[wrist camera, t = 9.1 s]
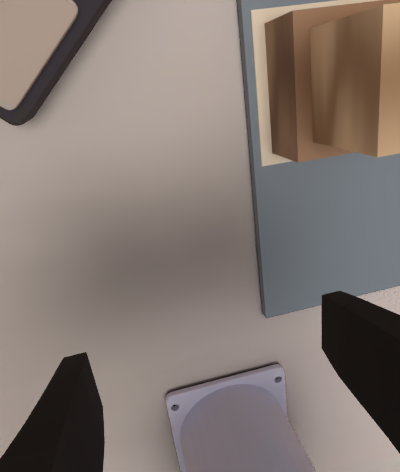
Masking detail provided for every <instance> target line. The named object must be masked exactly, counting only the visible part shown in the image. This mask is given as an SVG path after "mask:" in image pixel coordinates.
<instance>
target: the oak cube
mask: <svg viewBox="0 0 400 472" xmlns="http://www.w3.org/2000/svg"><path fill="white" fill-rule="evenodd" d="M310 44H311V88H312V132H313V142H314V143H319V144H323V145H327V146H331V147H335V148H340V149H344V150H348V151H352V152H356V153H361V154H365V155H369V156H373V157H383V156H388V155H393V154H398V153H400V3H392V4H384V5H381V6H377V7H374V8H371V9H368V10H365V11H362V12H359V13H356V14H353V15H350V16H347V17H344V18H341V19H338V20H335V21H332V22H329V23H326V24H322V25H319V26H316V27H313V28H310Z"/></svg>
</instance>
